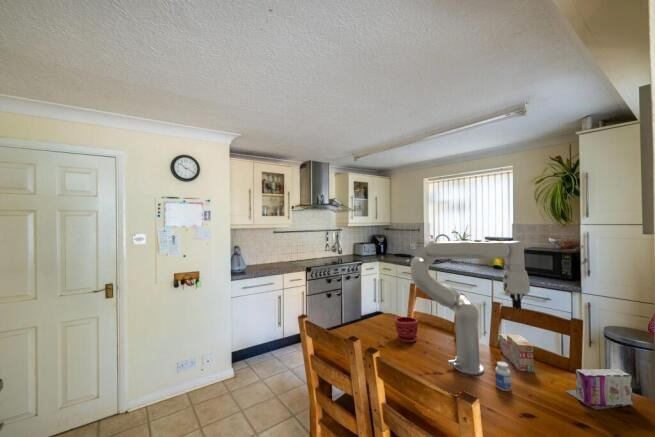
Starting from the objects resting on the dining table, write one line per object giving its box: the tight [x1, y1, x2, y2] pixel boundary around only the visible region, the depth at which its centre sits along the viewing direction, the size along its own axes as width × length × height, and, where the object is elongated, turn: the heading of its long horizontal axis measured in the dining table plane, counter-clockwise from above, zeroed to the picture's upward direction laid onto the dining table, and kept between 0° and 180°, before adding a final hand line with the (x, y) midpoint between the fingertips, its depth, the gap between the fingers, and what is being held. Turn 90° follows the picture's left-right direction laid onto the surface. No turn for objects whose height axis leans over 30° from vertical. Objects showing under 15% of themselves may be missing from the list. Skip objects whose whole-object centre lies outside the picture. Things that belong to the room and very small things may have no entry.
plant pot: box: [394, 316, 419, 343], centre depth 167 cm, size 13×13×12 cm
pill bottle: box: [494, 361, 512, 392], centre depth 115 cm, size 6×5×10 cm
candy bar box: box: [575, 368, 633, 407], centre depth 104 cm, size 11×5×16 cm
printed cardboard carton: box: [499, 333, 535, 373], centre depth 138 cm, size 21×6×12 cm, turn 169°
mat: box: [565, 389, 620, 410], centre depth 107 cm, size 14×11×1 cm
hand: (516, 308), depth 127 cm, fingers closed
